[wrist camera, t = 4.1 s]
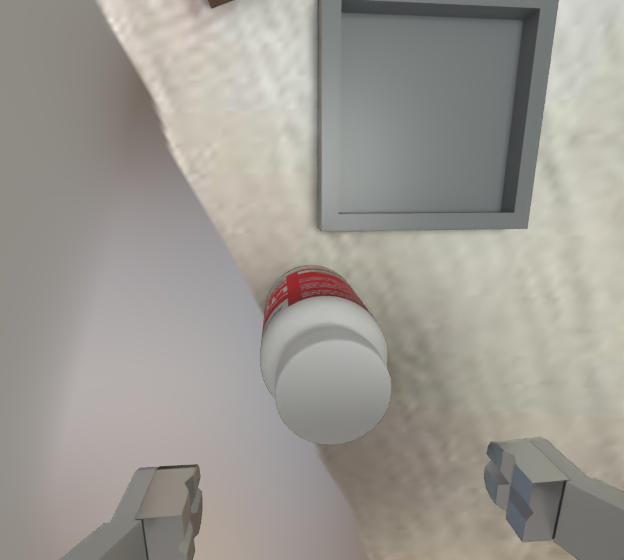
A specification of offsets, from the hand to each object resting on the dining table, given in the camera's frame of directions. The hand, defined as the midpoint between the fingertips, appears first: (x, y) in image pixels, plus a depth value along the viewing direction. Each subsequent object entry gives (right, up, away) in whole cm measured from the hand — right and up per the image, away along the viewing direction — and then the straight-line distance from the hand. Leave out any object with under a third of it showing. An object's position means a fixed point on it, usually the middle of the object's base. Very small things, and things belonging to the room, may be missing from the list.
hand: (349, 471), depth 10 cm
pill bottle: (-1, +3, +15) cm, 15 cm away
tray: (+6, +15, +13) cm, 21 cm away
